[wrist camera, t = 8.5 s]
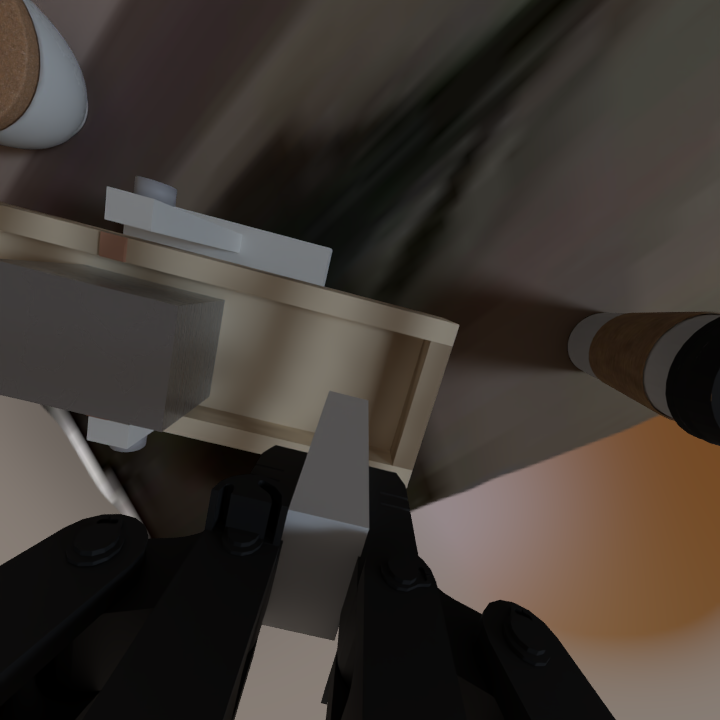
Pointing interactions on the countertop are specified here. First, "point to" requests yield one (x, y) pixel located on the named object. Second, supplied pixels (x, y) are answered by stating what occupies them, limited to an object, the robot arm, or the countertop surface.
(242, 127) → the countertop surface
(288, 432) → the beam
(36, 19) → the lidded jar
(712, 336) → the coffee cup
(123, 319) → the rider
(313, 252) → the stand
